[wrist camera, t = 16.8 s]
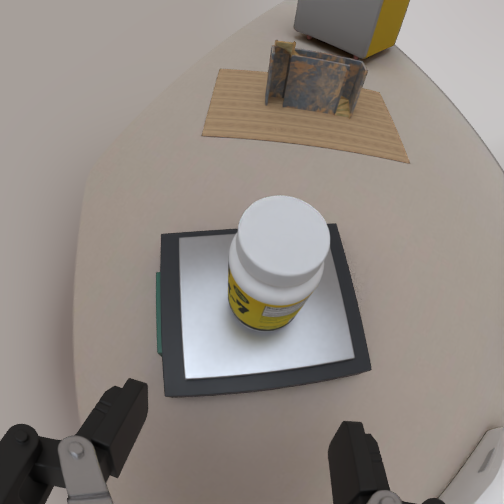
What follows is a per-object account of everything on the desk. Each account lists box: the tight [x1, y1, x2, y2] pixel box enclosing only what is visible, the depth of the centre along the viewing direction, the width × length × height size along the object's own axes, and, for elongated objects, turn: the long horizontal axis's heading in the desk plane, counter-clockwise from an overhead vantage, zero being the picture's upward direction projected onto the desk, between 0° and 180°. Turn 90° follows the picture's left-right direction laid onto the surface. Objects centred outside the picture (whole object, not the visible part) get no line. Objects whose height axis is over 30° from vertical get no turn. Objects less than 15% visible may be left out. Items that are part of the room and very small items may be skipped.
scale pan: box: [179, 234, 355, 380], centre depth 21 cm, size 11×10×1 cm
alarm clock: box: [294, 0, 410, 60], centre depth 42 cm, size 20×16×18 cm
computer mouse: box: [438, 427, 504, 504], centre depth 13 cm, size 6×13×6 cm, turn 129°
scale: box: [156, 223, 371, 398], centre depth 22 cm, size 14×12×2 cm
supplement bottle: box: [228, 195, 330, 332], centre depth 17 cm, size 5×5×8 cm
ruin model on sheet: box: [202, 40, 410, 163], centre depth 32 cm, size 25×16×10 cm, turn 87°
